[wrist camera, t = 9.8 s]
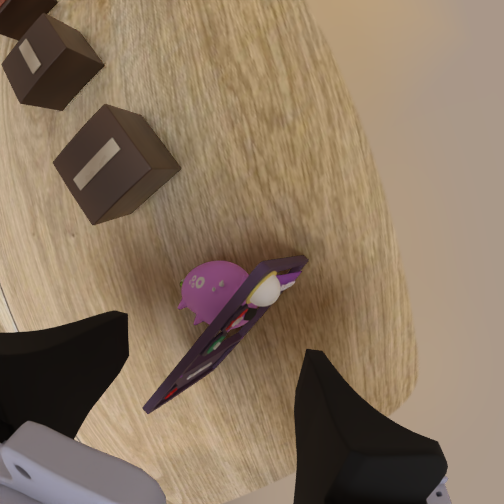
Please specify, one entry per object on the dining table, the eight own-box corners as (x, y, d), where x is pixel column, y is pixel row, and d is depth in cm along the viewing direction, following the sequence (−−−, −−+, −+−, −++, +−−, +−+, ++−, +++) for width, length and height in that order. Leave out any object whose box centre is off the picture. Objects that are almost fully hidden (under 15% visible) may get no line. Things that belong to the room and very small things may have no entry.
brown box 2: (79, 31, 15) (42, 11, 11) (104, 65, 15) (65, 46, 12) (40, 74, 16) (-1, 63, 12) (61, 111, 16) (18, 103, 12)
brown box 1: (43, -18, 14) (12, -35, 10) (57, 2, 14) (24, -17, 10) (10, 19, 15) (-23, 7, 11) (22, 42, 15) (-14, 30, 11)
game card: (157, 427, 13) (285, 283, 10) (88, 344, 14) (179, 189, 12) (222, 378, 19) (320, 269, 17) (166, 320, 20) (248, 207, 18)
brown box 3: (141, 114, 16) (103, 102, 12) (182, 168, 17) (151, 168, 13) (93, 161, 17) (50, 162, 13) (130, 214, 17) (91, 227, 14)
